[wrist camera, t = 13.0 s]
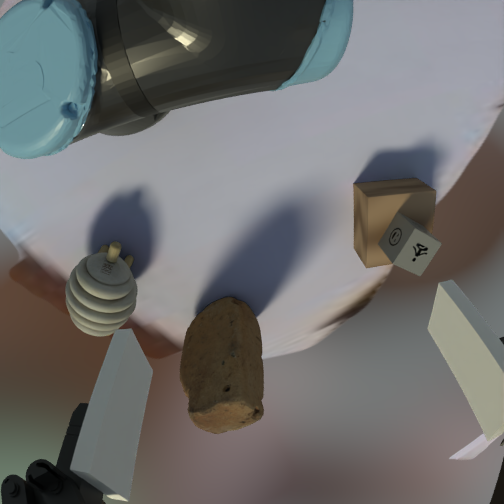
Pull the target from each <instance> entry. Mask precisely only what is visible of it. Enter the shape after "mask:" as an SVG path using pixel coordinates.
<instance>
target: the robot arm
mask: <svg viewBox="0 0 504 504" xmlns="http://www.w3.org/2000/svg"><path fill="white" fill-rule="evenodd" d="M352 21H353V0H22V1H21V2H19V3H17V4H16V5H14V6H13V7H12V8H11V9H9V10H8V11H7V12H6V13H5V14H4V15H3V16H2V17H1V18H0V148H1V149H2V150H3V152H5V153H6V154H8V155H10V156H13V157H16V158H21V159H33V158H38V157H41V156H49V155H54V154H57V153H58V152H61V151H62V150H64V149H65V148H67V146H68V145H70V144H72V143H75V142H77V141H79V140H82V139H84V138H87V137H89V136H92V135H95V134H97V133H102V134H105V135H111V136H124V135H130V134H134V133H137V132H140V131H143V130H145V129H147V128H149V127H151V126H153V125H154V124H156V123H157V122H159V121H160V120H161V119H163V118H164V117H165V116H166V115H167V114H168V113H169V112H170V110H174V109H178V108H182V107H186V106H191V105H195V104H199V103H204V102H208V101H213V100H218V99H223V98H228V97H233V96H239V95H244V94H250V93H256V92H263V91H276V90H282V89H284V88H286V87H288V86H292V85H297V84H302V83H308V82H314V81H317V80H319V79H322V78H324V77H325V76H327V75H328V74H329V73H331V72H332V71H333V70H334V69H335V67H336V66H337V65H338V63H339V62H340V60H341V58H342V56H343V54H344V52H345V49H346V47H347V44H348V41H349V37H350V32H351V27H352ZM428 331H429V333H430V334H431V336H432V338H433V339H434V341H435V343H436V344H437V346H438V348H439V349H440V351H441V353H442V355H443V356H444V358H445V360H446V361H447V363H448V365H449V367H450V369H451V370H452V372H453V374H454V376H455V377H456V379H457V381H458V383H459V385H460V386H461V388H462V390H463V392H464V394H465V396H466V398H467V400H468V402H469V404H470V406H471V408H472V410H473V411H474V413H475V416H476V418H477V420H478V422H479V424H480V426H481V428H482V430H483V432H484V434H485V436H486V439H487V441H490V440H492V439H494V438H496V437H497V436H499V435H501V434H503V432H504V337H502V338H498V336H497V335H496V334H495V332H494V331H493V330H492V328H491V327H490V326H489V324H488V323H487V322H486V320H485V319H484V318H483V317H482V315H481V314H480V313H479V312H478V310H477V309H476V308H475V306H474V305H473V304H472V303H471V302H470V300H469V299H468V298H467V297H466V295H465V294H464V293H463V292H462V291H461V289H460V288H459V287H458V286H457V285H456V283H455V282H454V281H453V280H449V281H445V282H440V283H439V284H438V289H437V293H436V298H435V302H434V306H433V310H432V314H431V318H430V322H429V326H428ZM152 373H153V370H152V368H151V367H150V365H149V363H148V361H147V359H146V357H145V355H144V353H143V351H142V349H141V347H140V345H139V343H138V341H137V339H136V337H135V335H134V333H133V331H132V329H122V330H116V331H115V333H114V336H113V338H112V341H111V343H110V346H109V349H108V351H107V354H106V357H105V359H104V362H103V365H102V368H101V370H100V373H99V376H98V379H97V382H96V385H95V388H94V391H93V393H92V396H91V399H90V402H89V404H87V403H80V404H79V405H78V407H77V408H76V410H75V411H74V412H73V414H72V417H71V419H70V422H69V427H68V429H67V432H66V435H65V438H64V441H63V445H62V448H61V451H60V454H59V458H58V461H57V465H56V467H55V466H54V465H53V464H52V463H50V462H49V461H47V460H44V459H39V460H36V461H34V462H33V463H31V464H30V466H29V467H28V469H27V472H26V481H25V480H23V479H22V478H21V477H19V476H17V475H9V476H7V477H6V479H4V481H3V483H2V487H1V496H2V504H106V503H105V502H104V501H103V500H102V498H103V494H105V495H107V496H108V497H110V498H111V499H117V500H124V501H129V498H130V491H131V484H132V478H133V471H134V465H135V459H136V454H137V448H138V443H139V437H140V432H141V426H142V421H143V416H144V411H145V406H146V401H147V397H148V392H149V387H150V382H151V378H152ZM503 445H504V439H503V441H502V442H501V445H500V446H503ZM490 504H504V458H503V462H502V466H501V470H500V473H499V477H498V480H497V483H496V487H495V490H494V493H493V496H492V499H491V502H490Z"/></svg>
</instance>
